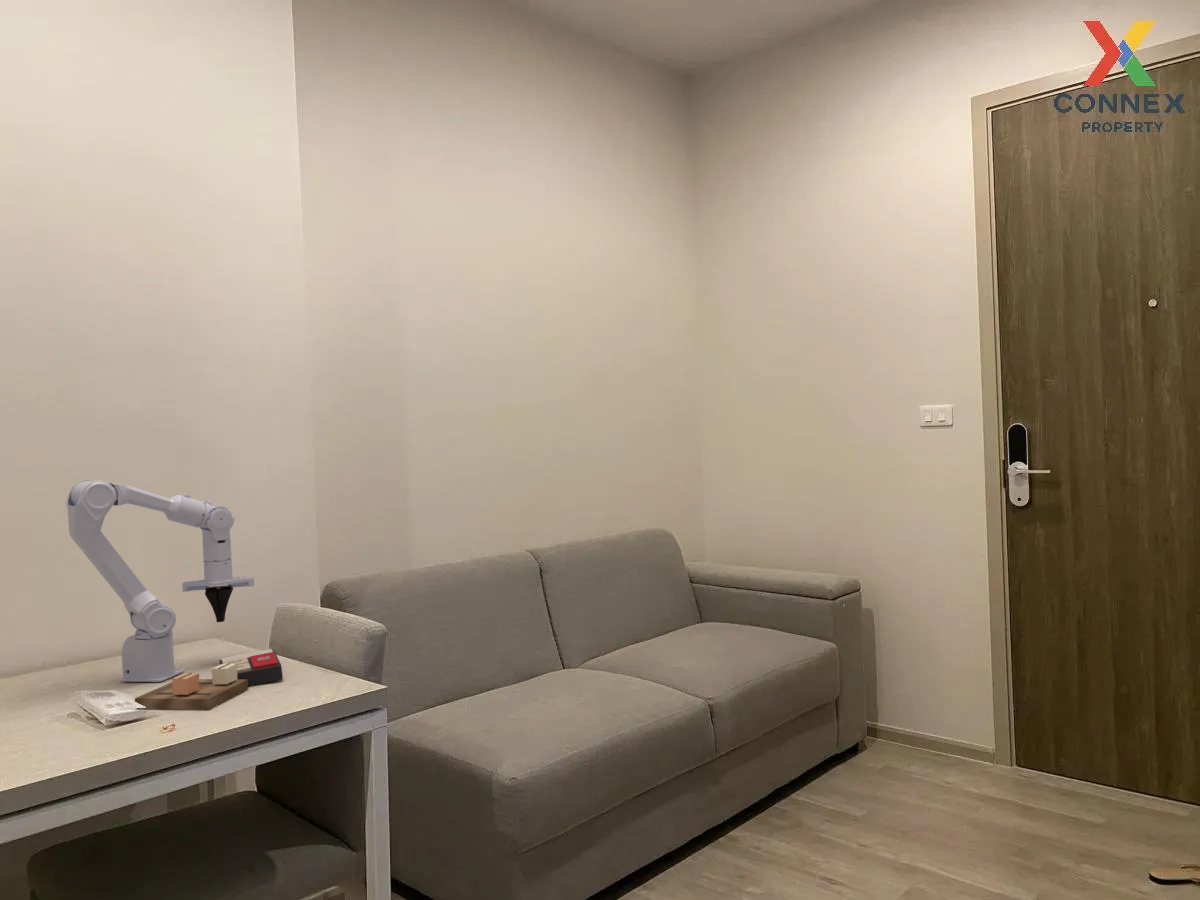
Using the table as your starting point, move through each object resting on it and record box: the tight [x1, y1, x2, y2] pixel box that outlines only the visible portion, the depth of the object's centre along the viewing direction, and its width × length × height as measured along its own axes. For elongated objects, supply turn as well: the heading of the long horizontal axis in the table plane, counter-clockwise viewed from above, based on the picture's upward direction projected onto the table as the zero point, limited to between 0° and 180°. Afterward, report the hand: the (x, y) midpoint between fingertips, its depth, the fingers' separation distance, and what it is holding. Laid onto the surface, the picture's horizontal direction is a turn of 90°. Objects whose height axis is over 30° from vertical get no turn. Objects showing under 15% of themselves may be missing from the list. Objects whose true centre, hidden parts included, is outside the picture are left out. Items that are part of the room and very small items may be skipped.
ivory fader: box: [211, 663, 237, 684], centre depth 175 cm, size 3×4×3 cm
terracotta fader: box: [171, 672, 200, 695], centre depth 169 cm, size 3×4×3 cm
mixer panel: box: [134, 678, 249, 711], centre depth 172 cm, size 15×13×2 cm
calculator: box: [219, 648, 284, 687], centre depth 187 cm, size 11×4×15 cm
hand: (220, 621), depth 199 cm, fingers closed
